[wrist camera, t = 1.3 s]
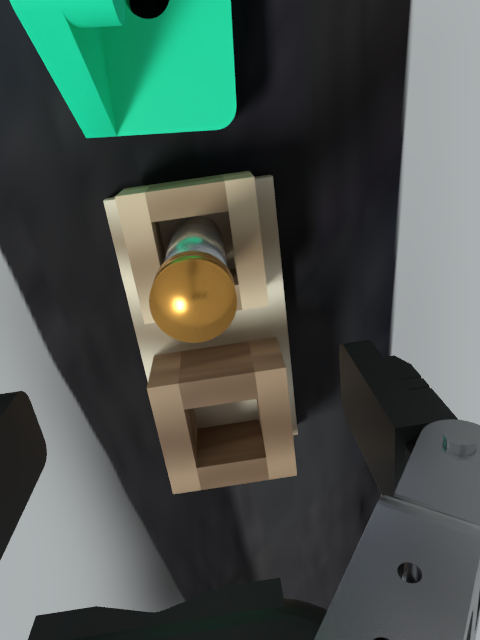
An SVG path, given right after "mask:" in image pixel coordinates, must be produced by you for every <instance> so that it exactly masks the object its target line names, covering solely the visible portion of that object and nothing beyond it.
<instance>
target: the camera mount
mask: <svg viewBox="0 0 480 640" xmlns="http://www.w3.org/2000/svg"><path fill="white" fill-rule="evenodd" d="M10 3H11V5H12V7H13V9H14V10H15V12H16V14H17V16H18V18H19V19H20V21H21V23H22V25H23V26H24V28H25V30H26V32H27V34H28V35H29V37H30V39H31V41H32V42H33V44H34V46H35V48H36V50H37V51H38V53H39V55H40V57H41V58H42V60H43V62H44V64H45V66H46V67H47V69H48V71H49V73H50V74H51V76H52V78H53V80H54V82H55V83H56V85H57V87H58V89H59V90H60V92H61V94H62V96H63V98H64V99H65V101H66V103H67V105H68V106H69V108H70V110H71V112H72V114H73V115H74V117H75V119H76V121H77V122H78V124H79V126H80V128H81V130H82V131H83V133H84V135H85V137H86V138H97V137H112V136H128V135H144V134H159V133H175V132H191V131H207V130H219V129H222V128H225V127H226V126H228V125H229V124H230V123H231V122H232V120H233V118H234V116H235V114H236V108H237V105H236V86H235V68H234V50H233V32H232V13H231V0H169V3H168V6H167V8H166V9H165V11H164V12H163V13H162V14H161V15H159V16H158V17H156V18H153V19H144V18H140V17H138V16H136V15H135V14H134V13H132V11H131V8H130V0H10Z"/></svg>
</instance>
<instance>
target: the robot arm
mask: <svg viewBox="0 0 480 640" xmlns="http://www.w3.org/2000/svg"><path fill="white" fill-rule="evenodd" d="M339 362H340V382H341V399H342V406H343V411H344V415H345V418H346V420H347V423H348V425H349V427H350V429H351V431H352V433H353V435H354V437H355V439H356V441H357V444H358V446H359V448H360V450H361V452H362V454H363V456H364V458H365V460H366V462H367V464H368V467H369V469H370V471H371V473H372V475H373V477H374V479H375V481H376V483H377V485H378V488H379V490H380V492H381V494H382V496H381V497H380V499H379V501H378V503H377V505H376V507H375V509H374V511H373V513H372V516H371V518H370V520H369V522H368V524H367V526H366V529H365V531H364V533H363V535H362V537H361V539H360V542H359V544H358V546H357V548H356V550H355V552H354V555H353V557H352V559H351V561H350V563H349V565H348V567H347V570H346V572H345V574H344V576H343V578H342V580H341V583H340V585H339V587H338V589H337V591H336V593H335V596H334V598H333V600H332V602H331V604H330V606H329V609H328V610H326V609H324V608H322V607H319V606H316V605H314V604H311V603H307V602H303V601H299V600H294V599H286V598H283V593H282V587H281V581H280V578H276V579H269V580H263V581H257V582H250V583H244V584H237V585H231V586H225V587H220V588H217V589H215V590H212V591H210V592H207V593H205V594H202V595H200V596H198V597H195V598H193V599H190V600H188V601H185V602H183V603H181V604H178V605H176V606H173V607H171V608H169V609H166V610H163V611H160V612H155V613H153V612H151V613H150V612H142V611H132V610H124V609H115V608H105V607H97V606H96V607H90V608H84V609H77V610H71V611H64V612H58V613H51V614H45V615H38V616H36V618H35V621H34V623H33V626H32V629H31V632H30V635H29V638H28V640H475V638H476V633H477V627H478V621H479V616H480V425H478V424H475V423H472V422H468V421H463V420H458V419H457V418H456V416H455V415H454V414H453V413H452V412H451V411H450V409H449V408H448V407H447V406H446V405H445V404H444V403H443V401H442V400H441V399H440V398H439V397H438V395H437V394H436V393H435V392H434V391H433V390H432V389H431V388H430V387H429V385H428V384H427V383H426V381H425V380H424V379H422V378H421V376H420V374H419V373H418V372H417V371H416V370H415V369H414V368H413V366H412V365H411V364H409V363H407V362H405V361H404V360H402V359H400V358H398V357H396V356H388V357H383V356H382V354H381V353H380V352H379V350H378V349H377V348H376V347H375V345H374V344H373V343H372V341H370V340H365V341H359V342H352V343H345V344H341V345H340V347H339ZM46 456H47V450H46V443H45V439H44V437H43V434H42V431H41V429H40V426H39V424H38V421H37V418H36V415H35V413H34V410H33V407H32V404H31V402H30V400H29V397H28V395H27V394H26V393H25V392H23V391H19V392H12V393H5V394H0V560H1V558H2V556H3V553H4V551H5V549H6V547H7V545H8V543H9V541H10V538H11V536H12V534H13V532H14V530H15V528H16V526H17V523H18V521H19V519H20V517H21V515H22V512H23V511H24V509H25V506H26V504H27V502H28V500H29V498H30V495H31V494H32V491H33V489H34V487H35V485H36V483H37V481H38V479H39V476H40V474H41V472H42V470H43V468H44V466H45V462H46Z"/></svg>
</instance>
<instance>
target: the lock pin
mask: <svg viewBox="0 0 480 640" xmlns="http://www.w3.org/2000/svg"><path fill="white" fill-rule="evenodd" d="M149 307H150V312H151V315H152V317H153V319H154V321H155V323H156V324H157V326H158V327H159V328H160V329H161V330H162V331H163V332H164V333H166V334H167V335H168V336H170V337H172V338H174V339H176V340H179V341H183V342H188V343H199V342H205V341H208V340H211V339H213V338H215V337H217V336H219V335H220V334H221V333H223V332H224V331H225V330H226V329H227V328H228V327H229V325H230V324H231V323H232V321H233V319H234V316H235V314H236V309H237V295H236V290H235V284H234V280H233V277H232V274H231V272H230V270H229V269H228V268H227V264H226V257H225V250H224V244H223V237H222V233H221V231H220V229H219V227H218V226H217V224H216V223H215V222H214V221H212V220H211V219H209V218H207V217H205V216H193V217H186V218H184V219H182V220H181V221H180V222H179V223H178V224H177V225H176V226H175V228H174V230H173V233H172V236H171V240H170V244H169V247H168V251H167V254H166V258H165V261H164V263H163V264H162V265H161V266H160V268H159V269H158V271H157V273H156V275H155V278H154V281H153V285H152V288H151V291H150V296H149Z"/></svg>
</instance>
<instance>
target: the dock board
mask: <svg viewBox="0 0 480 640" xmlns="http://www.w3.org/2000/svg"><path fill="white" fill-rule="evenodd" d="M103 202H104V206H105V210H106V214H107V218H108V222H109V226H110V230H111V234H112V238H113V243H114V247H115V251H116V255H117V259H118V263H119V267H120V271H121V275H122V279H123V283H124V287H125V291H126V295H127V299H128V303H129V307H130V312H131V316H132V320H133V324H134V328H135V332H136V336H137V340H138V344H139V348H140V352H141V356H142V360H143V364H144V368H145V372H146V377H147V381H148V385H147V391H148V395H149V399H150V403H151V407H152V411H153V415H154V419H155V423H156V427H157V431H158V435H159V439H160V443H161V447H162V451H163V455H164V459H165V463H166V467H167V471H168V475H169V479H170V483H171V487H172V491H173V494H178V493H184V492H191V491H198V490H204V489H211V488H217V487H224V486H231V485H237V484H244V483H250V482H257V481H263V480H270V479H277V478H283V477H290V476H296V475H297V471H296V461H295V451H294V441H293V435H297V434H298V432H297V421H296V411H295V401H294V390H293V380H292V369H291V359H290V349H289V338H288V328H287V317H286V307H285V296H284V286H283V276H282V265H281V255H280V244H279V234H278V224H277V213H276V203H275V192H274V182H273V176H272V175H265V176H258V177H254V176H253V175H252V174H251V172H250V171H243V172H236V173H229V174H222V175H215V176H208V177H201V178H194V179H187V180H180V181H173V182H166V183H159V184H152V185H145V186H138V187H131V188H125V189H123V190H122V191H121V192H120V193H118V194H117V195H116V196H115V197H111V198H106V199H105V200H104V201H103ZM193 216H205V217H207V218H209V219H211V220H212V221H214V222H215V223H216V224H217V226H218V227H219V229H220V231H221V233H222V237H223V244H224V250H225V257H226V264H227V268H228V269H229V270H230V272H231V274H232V277H233V280H234V284H235V290H236V295H237V309H236V314H235V316H234V319H233V321H232V323H231V324H230V325H229V327H228V328H227V329H226V330H225V331H224V332H223V333H221V334H220V335H219V336H217V337H215V338H213V339H211V340H208V341H205V342H199V343H188V342H183V341H179V340H176V339H174V338H172V337H170V336H168V335H167V334H166V333H164V332H163V331H162V330H161V329H160V328H159V327H158V326H157V324H156V323H155V321H154V319H153V317H152V315H151V312H150V307H149V296H150V291H151V288H152V285H153V281H154V278H155V275H156V273H157V271H158V269H159V268H160V266H161V265H162V264H163V263H164V261H165V258H166V254H167V251H168V247H169V244H170V240H171V236H172V233H173V230H174V228H175V226H176V225H177V224H178V223H179V222H180V221H181V220H182V219H184V218H186V217H193Z"/></svg>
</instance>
